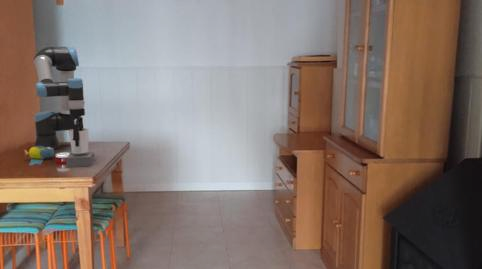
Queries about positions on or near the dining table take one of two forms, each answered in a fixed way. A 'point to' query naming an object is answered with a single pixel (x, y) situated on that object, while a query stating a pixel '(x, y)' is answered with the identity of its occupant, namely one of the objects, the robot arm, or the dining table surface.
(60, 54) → the robot arm
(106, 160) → the dining table surface
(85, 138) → the candle holder
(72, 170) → the dining table surface
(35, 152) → the yellow and blue toy
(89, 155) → the block
